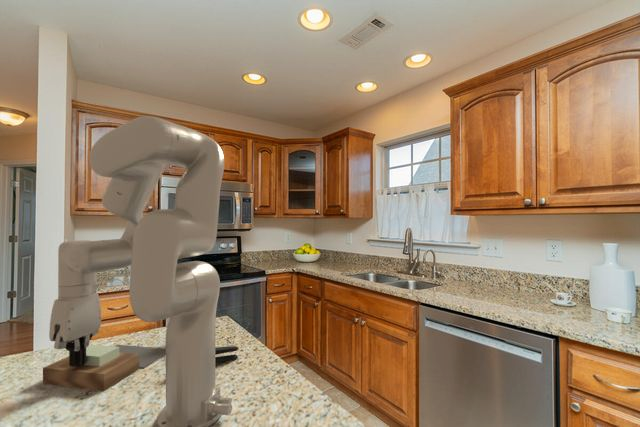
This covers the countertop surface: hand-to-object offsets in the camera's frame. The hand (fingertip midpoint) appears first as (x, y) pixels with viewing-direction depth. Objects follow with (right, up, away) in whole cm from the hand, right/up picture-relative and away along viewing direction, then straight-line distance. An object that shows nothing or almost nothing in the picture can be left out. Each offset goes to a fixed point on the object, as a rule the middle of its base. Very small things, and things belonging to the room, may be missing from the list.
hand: (77, 364), depth 77 cm
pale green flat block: (+1, 0, +5) cm, 5 cm away
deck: (+1, -5, +4) cm, 6 cm away
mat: (+3, -5, +16) cm, 17 cm away
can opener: (+29, -5, +9) cm, 31 cm away
